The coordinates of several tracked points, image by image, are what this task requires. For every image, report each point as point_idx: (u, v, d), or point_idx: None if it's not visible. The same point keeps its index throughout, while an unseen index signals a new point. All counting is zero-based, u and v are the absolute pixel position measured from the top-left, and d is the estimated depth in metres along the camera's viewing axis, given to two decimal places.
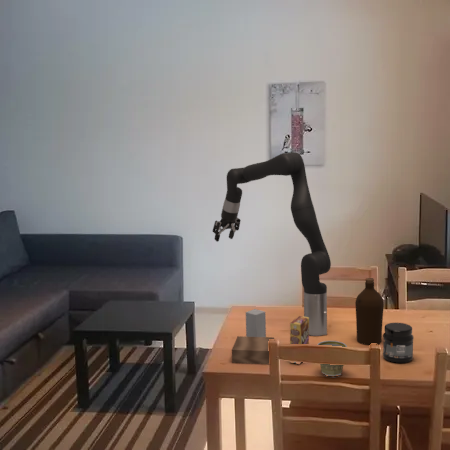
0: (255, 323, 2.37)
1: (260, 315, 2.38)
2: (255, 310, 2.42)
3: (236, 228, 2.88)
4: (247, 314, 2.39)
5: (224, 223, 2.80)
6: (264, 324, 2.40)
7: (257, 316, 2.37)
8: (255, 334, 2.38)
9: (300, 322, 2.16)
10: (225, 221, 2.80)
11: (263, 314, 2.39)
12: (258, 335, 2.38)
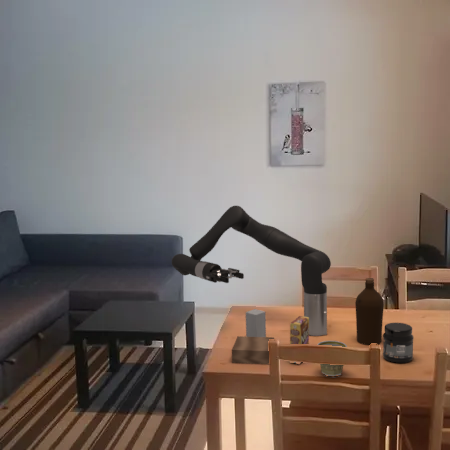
0: (255, 323, 2.37)
1: (260, 315, 2.38)
2: (255, 310, 2.42)
3: None
4: (247, 314, 2.39)
5: (214, 272, 2.49)
6: (264, 324, 2.40)
7: (257, 316, 2.37)
8: (255, 334, 2.38)
9: (300, 322, 2.16)
10: (213, 272, 2.50)
11: (263, 314, 2.39)
12: (258, 335, 2.38)
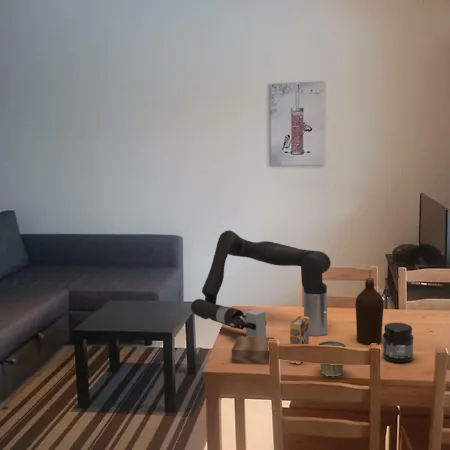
0: (255, 323, 2.37)
1: (260, 315, 2.38)
2: (255, 310, 2.42)
3: None
4: (247, 314, 2.39)
5: (236, 319, 2.44)
6: (264, 324, 2.40)
7: (257, 316, 2.37)
8: (255, 334, 2.38)
9: (300, 322, 2.16)
10: (234, 318, 2.44)
11: (263, 314, 2.39)
12: (258, 335, 2.38)
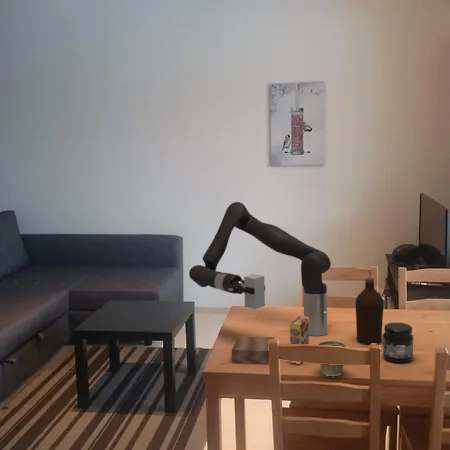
0: (254, 287, 2.32)
1: (259, 279, 2.34)
2: (254, 275, 2.37)
3: None
4: (246, 278, 2.35)
5: (235, 284, 2.40)
6: (263, 289, 2.36)
7: (256, 280, 2.32)
8: (254, 298, 2.33)
9: (300, 322, 2.16)
10: (233, 283, 2.40)
11: (262, 278, 2.35)
12: (257, 300, 2.34)
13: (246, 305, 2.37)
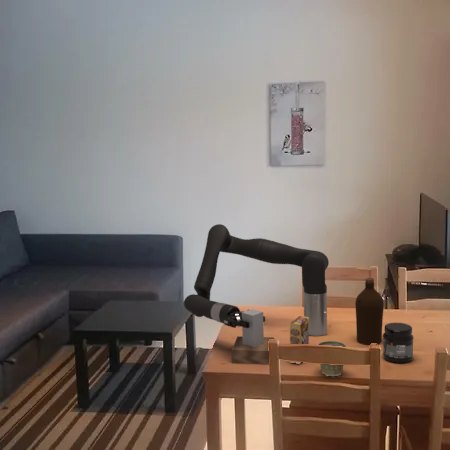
0: (252, 324, 2.20)
1: (257, 316, 2.21)
2: (252, 310, 2.25)
3: None
4: (243, 314, 2.23)
5: (232, 316, 2.27)
6: (262, 325, 2.24)
7: (254, 317, 2.20)
8: (252, 336, 2.21)
9: (300, 322, 2.16)
10: (231, 315, 2.28)
11: (261, 314, 2.23)
12: (255, 337, 2.22)
13: (244, 342, 2.24)
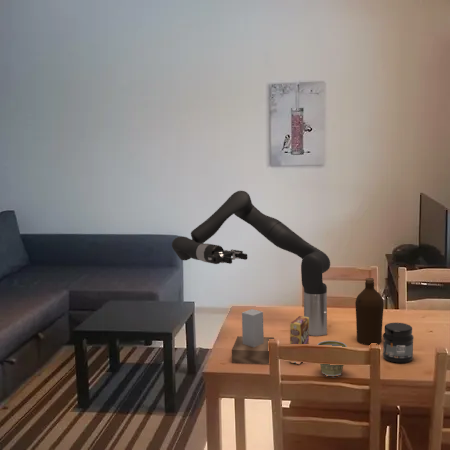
0: (252, 324, 2.20)
1: (257, 316, 2.21)
2: (252, 310, 2.25)
3: None
4: (243, 314, 2.23)
5: (216, 254, 2.38)
6: (262, 325, 2.24)
7: (254, 317, 2.20)
8: (252, 336, 2.21)
9: (300, 322, 2.16)
10: (215, 253, 2.39)
11: (261, 314, 2.23)
12: (255, 337, 2.22)
13: (244, 342, 2.24)
